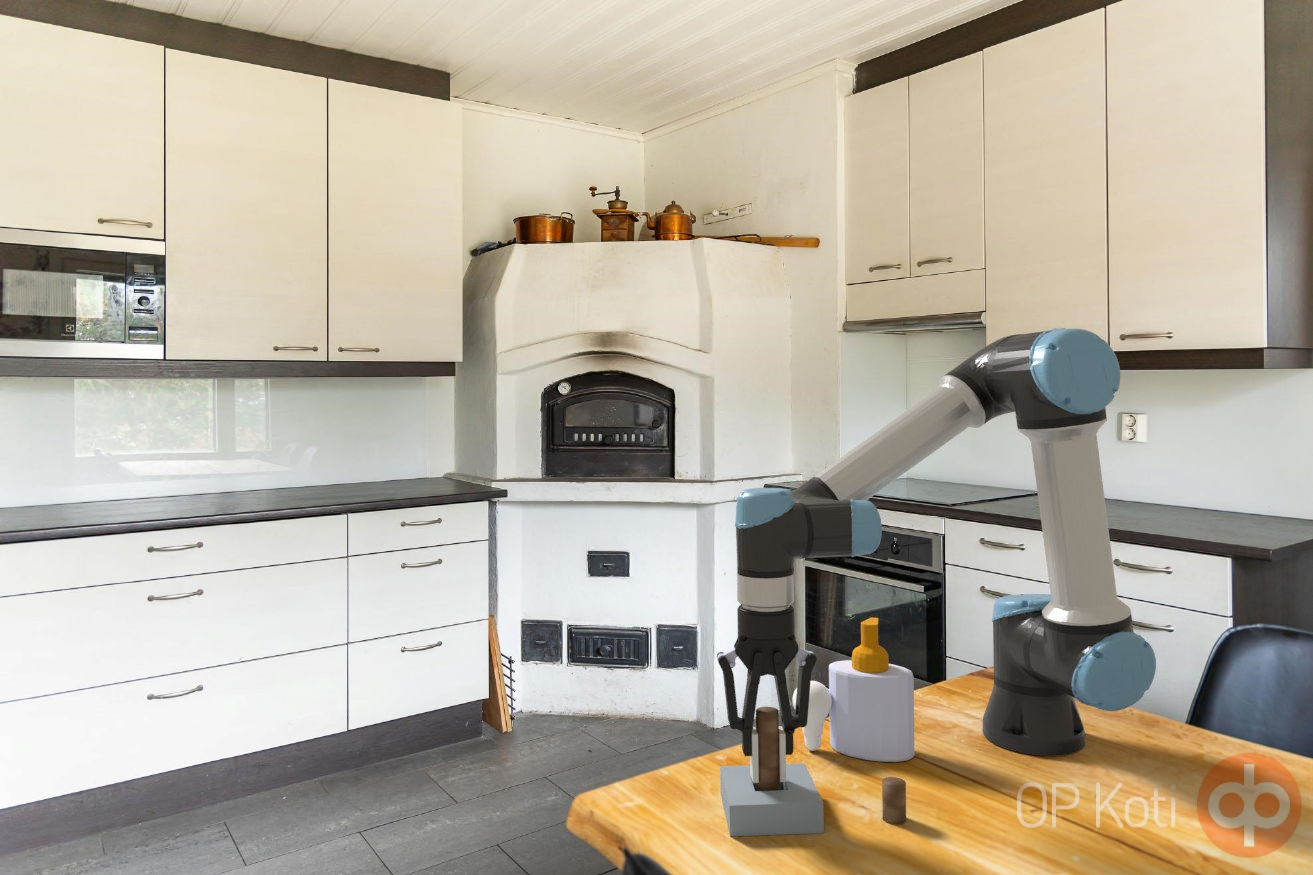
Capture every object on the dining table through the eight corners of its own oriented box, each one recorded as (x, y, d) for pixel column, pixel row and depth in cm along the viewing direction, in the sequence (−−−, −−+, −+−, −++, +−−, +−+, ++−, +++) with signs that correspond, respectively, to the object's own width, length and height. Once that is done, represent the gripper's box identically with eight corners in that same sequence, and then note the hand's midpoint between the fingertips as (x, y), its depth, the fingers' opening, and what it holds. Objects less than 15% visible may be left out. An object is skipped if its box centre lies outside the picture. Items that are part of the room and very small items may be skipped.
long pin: (777, 807, 119) (776, 706, 118) (781, 817, 116) (780, 714, 115) (755, 808, 118) (754, 706, 118) (758, 818, 115) (757, 714, 115)
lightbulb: (832, 759, 134) (831, 688, 133) (792, 757, 135) (791, 687, 134) (832, 743, 140) (831, 676, 139) (794, 741, 141) (793, 674, 140)
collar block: (805, 790, 123) (804, 763, 123) (823, 832, 111) (823, 802, 111) (720, 793, 123) (720, 765, 123) (730, 836, 111) (729, 805, 111)
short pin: (902, 813, 116) (901, 776, 116) (909, 824, 113) (908, 786, 113) (879, 813, 116) (879, 777, 116) (886, 824, 113) (885, 787, 113)
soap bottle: (919, 748, 137) (918, 620, 136) (909, 768, 130) (907, 633, 129) (837, 735, 143) (835, 613, 142) (822, 753, 136) (820, 625, 135)
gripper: (819, 596, 120) (821, 764, 121) (703, 599, 119) (706, 768, 120) (831, 609, 112) (833, 788, 113) (707, 613, 112) (710, 792, 113)
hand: (768, 777), depth 117 cm, fingers closed on long pin, 3 cm apart
